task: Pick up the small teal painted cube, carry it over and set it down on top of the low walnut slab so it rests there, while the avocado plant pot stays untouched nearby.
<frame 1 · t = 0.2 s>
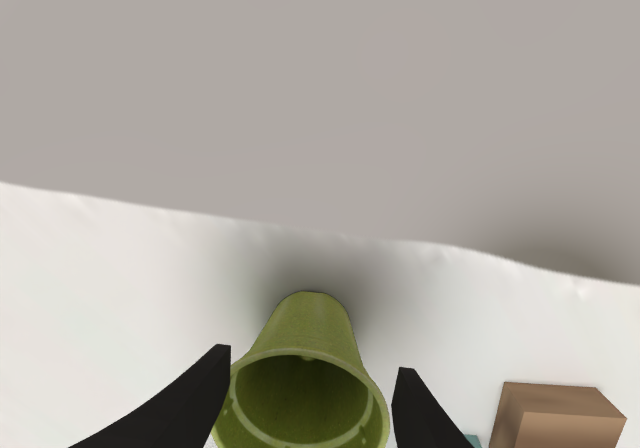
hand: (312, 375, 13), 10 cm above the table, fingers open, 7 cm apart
plant pot: (311, 322, 24), on the table
walnut slab: (537, 415, 25), on the table
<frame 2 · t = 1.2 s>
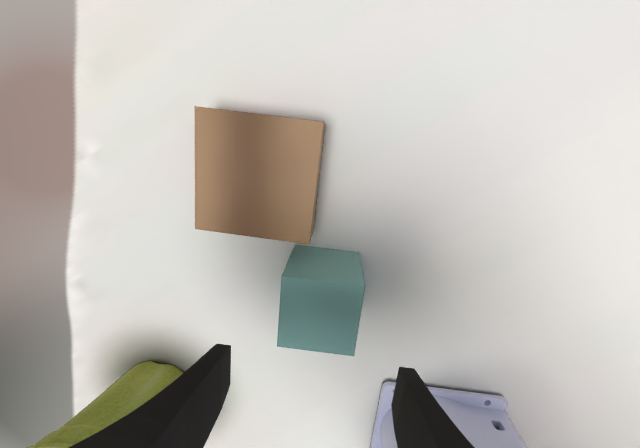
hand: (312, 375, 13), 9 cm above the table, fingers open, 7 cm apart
plant pot: (163, 386, 25), on the table
teal cube: (323, 277, 21), on the table
walnut slab: (267, 172, 20), on the table
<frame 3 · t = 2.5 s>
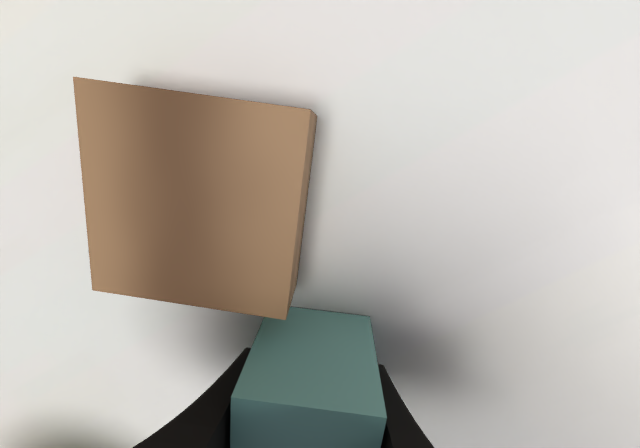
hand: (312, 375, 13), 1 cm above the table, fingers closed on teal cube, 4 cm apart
teal cube: (314, 352, 14), on the table, touching gripper
walnut slab: (224, 193, 12), on the table
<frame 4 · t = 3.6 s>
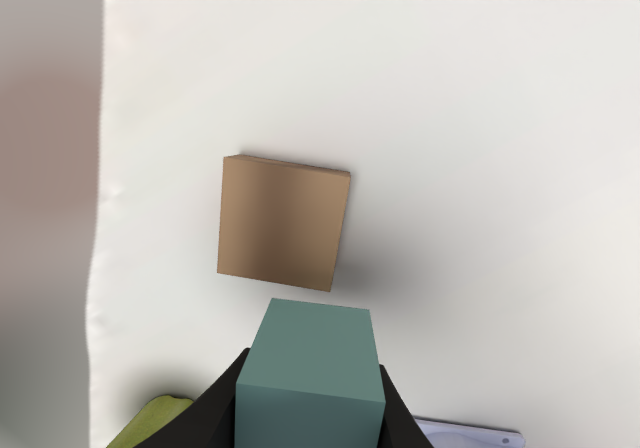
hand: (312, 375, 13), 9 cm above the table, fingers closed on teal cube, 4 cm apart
plant pot: (180, 419, 25), on the table
teal cube: (315, 345, 14), point 7 cm above the table, touching gripper
walnut slab: (288, 215, 20), on the table
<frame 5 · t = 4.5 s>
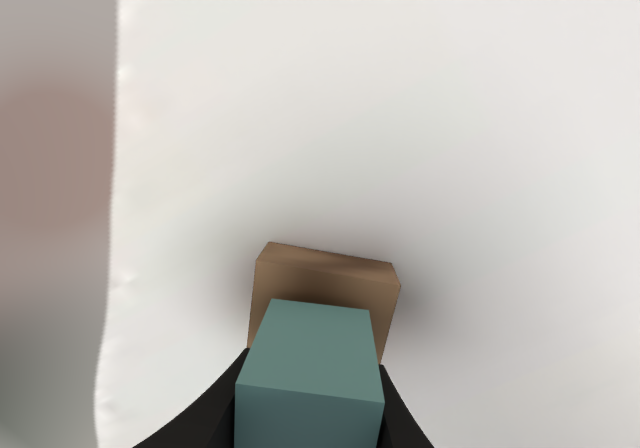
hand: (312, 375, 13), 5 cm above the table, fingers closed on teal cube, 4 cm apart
teal cube: (315, 345, 14), point 4 cm above the table, touching gripper
walnut slab: (320, 303, 18), on the table
when the fingers open (5 cm above the table, at t = 5.0 s): teal cube stays where it is, resting on walnut slab.
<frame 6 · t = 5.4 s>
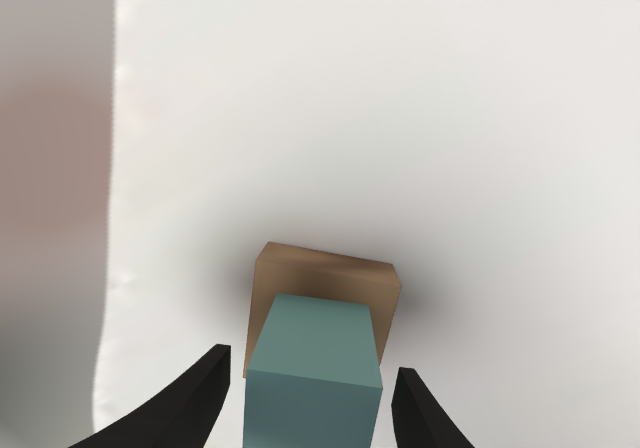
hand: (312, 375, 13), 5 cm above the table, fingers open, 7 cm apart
teal cube: (317, 337, 15), point 3 cm above the table, touching walnut slab
walnut slab: (320, 303, 18), on the table, touching teal cube
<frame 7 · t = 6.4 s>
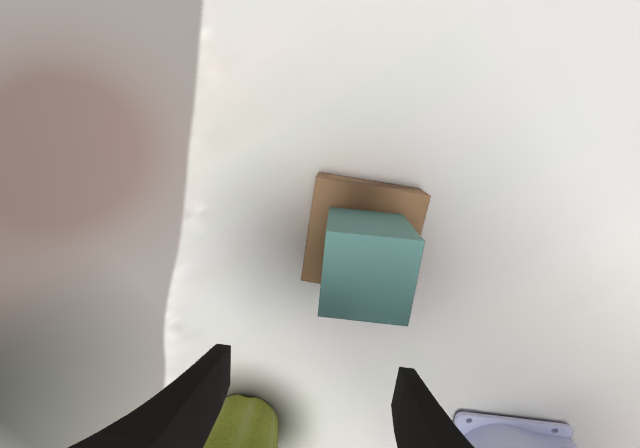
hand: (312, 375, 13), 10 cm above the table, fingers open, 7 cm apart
plant pot: (247, 416, 27), on the table
teal cube: (361, 244, 19), point 3 cm above the table
walnut slab: (359, 226, 22), on the table
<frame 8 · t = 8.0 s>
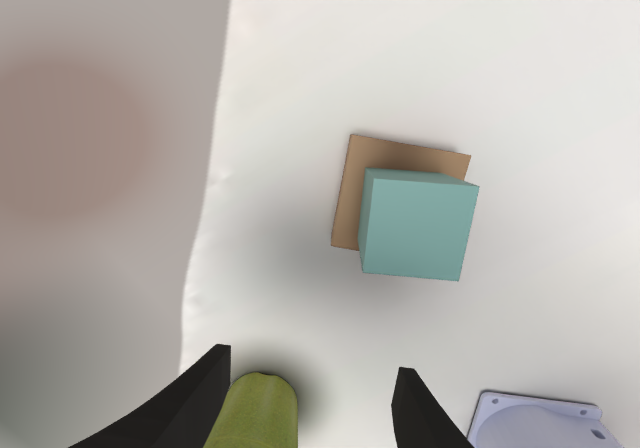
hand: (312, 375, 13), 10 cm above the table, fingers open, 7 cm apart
plant pot: (264, 396, 27), on the table
teal cube: (397, 207, 18), point 3 cm above the table, touching walnut slab
walnut slab: (389, 194, 21), on the table, touching teal cube
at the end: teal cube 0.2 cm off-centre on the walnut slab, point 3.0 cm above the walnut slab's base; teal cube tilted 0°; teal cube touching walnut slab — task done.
